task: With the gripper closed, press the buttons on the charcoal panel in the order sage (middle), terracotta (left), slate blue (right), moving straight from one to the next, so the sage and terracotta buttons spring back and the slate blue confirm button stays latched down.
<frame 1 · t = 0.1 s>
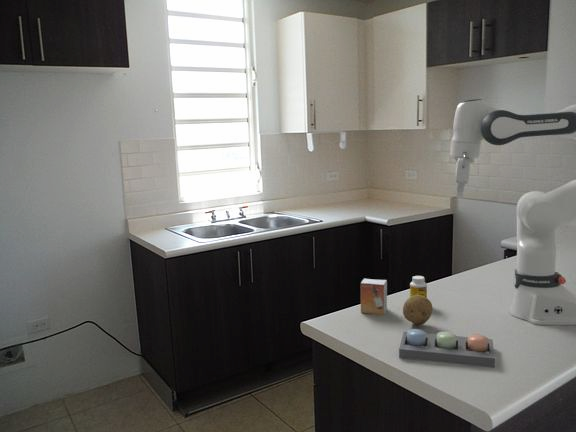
hand: (459, 194, 163), 39 cm above the worktop, tool pointing down, fingers open, 8 cm apart
small box: (373, 311, 171), on the worktop
slate blue button: (416, 337, 140), point 3 cm above the worktop, slide at 0.0 cm
terracotta button: (477, 343, 135), point 3 cm above the worktop, slide at 0.0 cm
button panel: (446, 352, 138), on the worktop
sage button: (446, 340, 137), point 3 cm above the worktop, slide at 0.0 cm
supplement bottle: (418, 306, 174), on the worktop
natural sponge: (417, 326, 157), on the worktop
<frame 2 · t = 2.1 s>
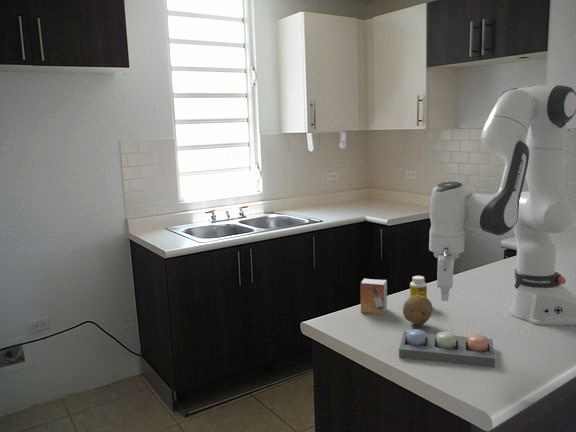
hand: (445, 294, 135), 17 cm above the worktop, tool pointing down, fingers open, 8 cm apart
nothing on the worktop moved.
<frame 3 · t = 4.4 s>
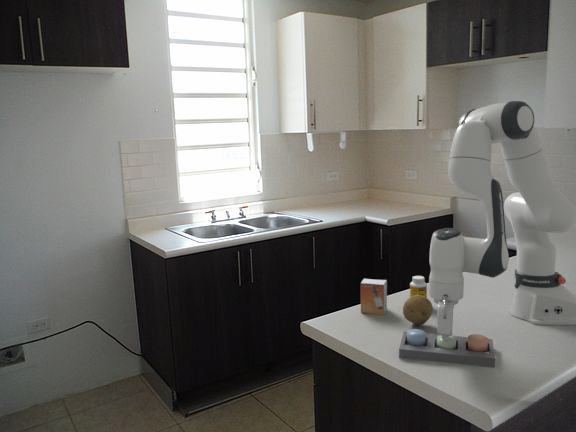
hand: (445, 338, 137), 4 cm above the worktop, tool pointing down, fingers closed, pressing on sage button
sage button: (446, 343, 138), point 3 cm above the worktop, slide at 0.9 cm, touching gripper
everything else where it was.
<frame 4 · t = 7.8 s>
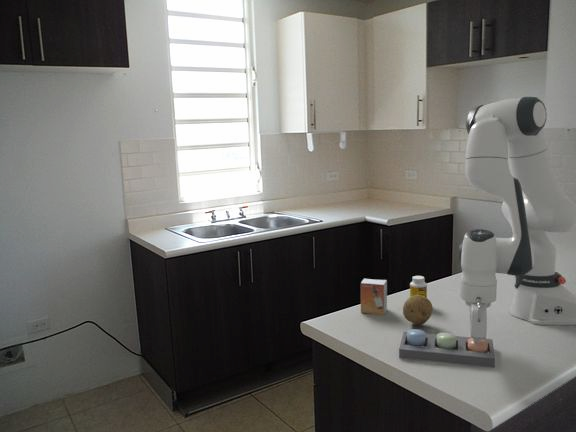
hand: (476, 341, 135), 4 cm above the worktop, tool pointing down, fingers closed, pressing on terracotta button
terracotta button: (477, 346, 135), point 2 cm above the worktop, slide at 1.0 cm, touching gripper
sage button: (446, 341, 137), point 3 cm above the worktop, slide at 0.2 cm
everything else where it was.
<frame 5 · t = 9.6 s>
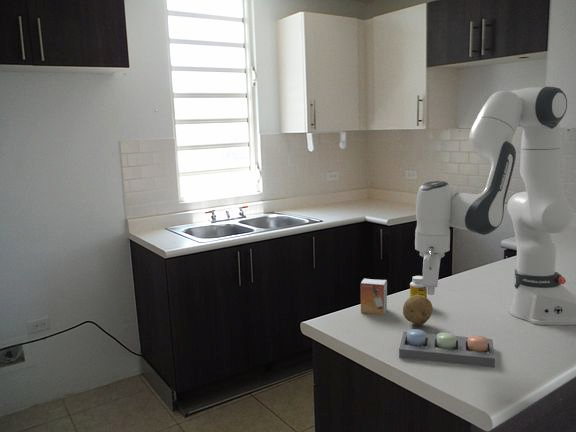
hand: (430, 293, 136), 17 cm above the worktop, tool pointing down, fingers closed
terracotta button: (477, 344, 135), point 3 cm above the worktop, slide at 0.3 cm
everything else where it was.
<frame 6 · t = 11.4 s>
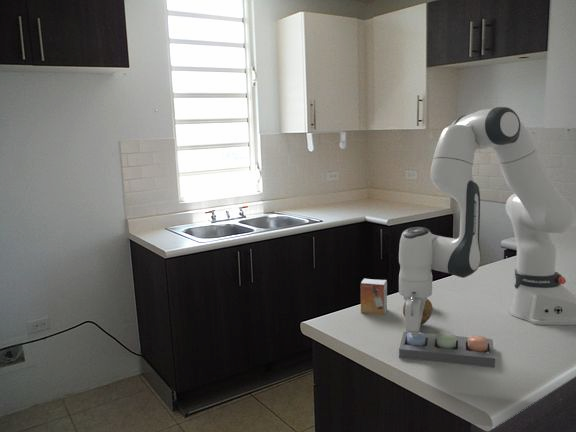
hand: (415, 335, 140), 4 cm above the worktop, tool pointing down, fingers closed, pressing on slate blue button
slate blue button: (416, 340, 140), point 3 cm above the worktop, slide at 0.8 cm, touching gripper
everything else where it was.
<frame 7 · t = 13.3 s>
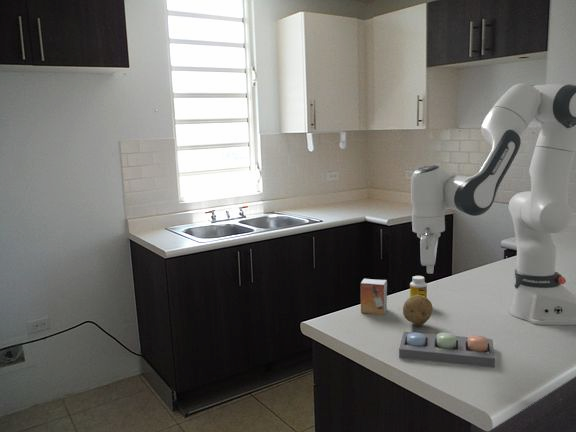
hand: (430, 272, 143), 20 cm above the worktop, tool pointing down, fingers closed
slate blue button: (416, 341, 140), point 2 cm above the worktop, slide at 1.0 cm
everything else where it was.
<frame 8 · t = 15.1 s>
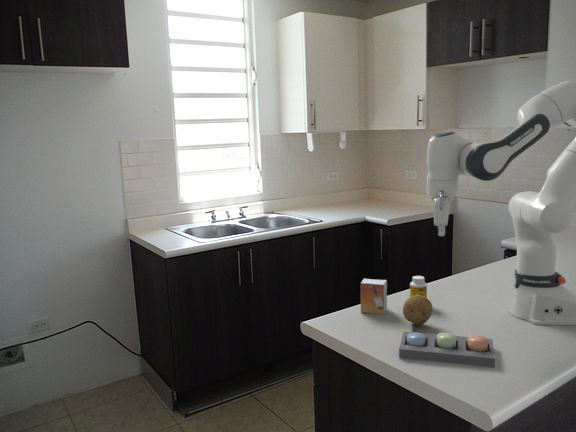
hand: (441, 235, 149), 29 cm above the worktop, tool pointing down, fingers closed
nothing on the worktop moved.
at the end: slate blue button slide at 1.0 cm; sage button slide at 0.2 cm; terracotta button slide at 0.3 cm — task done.
